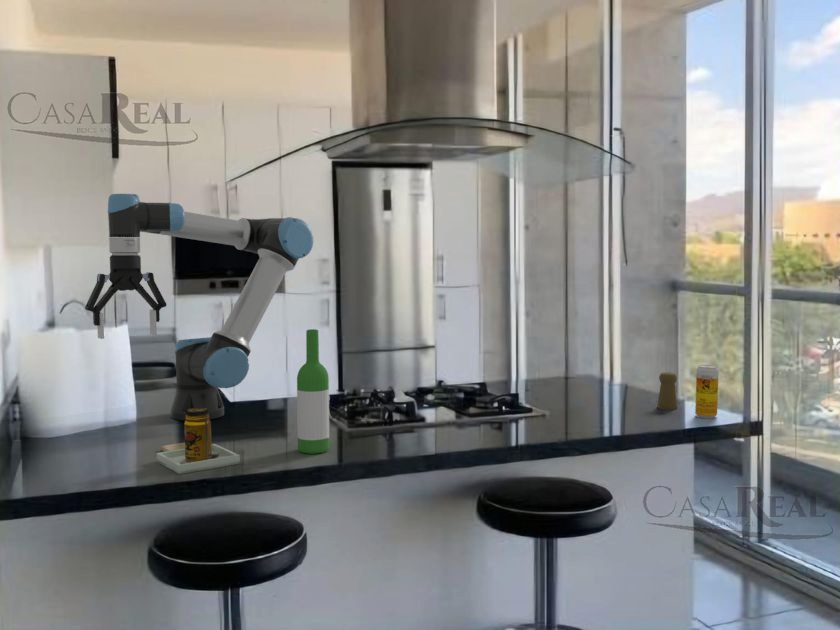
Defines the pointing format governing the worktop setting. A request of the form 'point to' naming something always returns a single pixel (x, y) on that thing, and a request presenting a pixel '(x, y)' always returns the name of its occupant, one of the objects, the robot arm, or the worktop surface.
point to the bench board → (173, 447)
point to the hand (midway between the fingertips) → (127, 336)
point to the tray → (177, 456)
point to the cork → (667, 391)
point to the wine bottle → (312, 400)
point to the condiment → (198, 436)
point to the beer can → (706, 391)
